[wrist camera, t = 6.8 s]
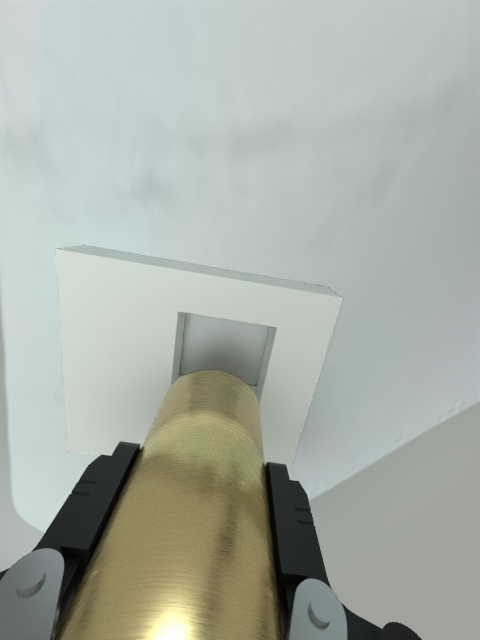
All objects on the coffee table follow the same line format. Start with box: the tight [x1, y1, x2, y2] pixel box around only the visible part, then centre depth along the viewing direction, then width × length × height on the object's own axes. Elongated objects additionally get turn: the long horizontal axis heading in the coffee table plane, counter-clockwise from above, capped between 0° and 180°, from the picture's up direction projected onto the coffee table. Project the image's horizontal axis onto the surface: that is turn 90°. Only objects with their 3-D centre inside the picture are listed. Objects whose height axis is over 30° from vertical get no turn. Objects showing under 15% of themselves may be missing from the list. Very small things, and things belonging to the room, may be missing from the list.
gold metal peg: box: [54, 370, 282, 640], centre depth 9 cm, size 5×5×9 cm
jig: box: [55, 245, 343, 474], centre depth 21 cm, size 18×16×3 cm
